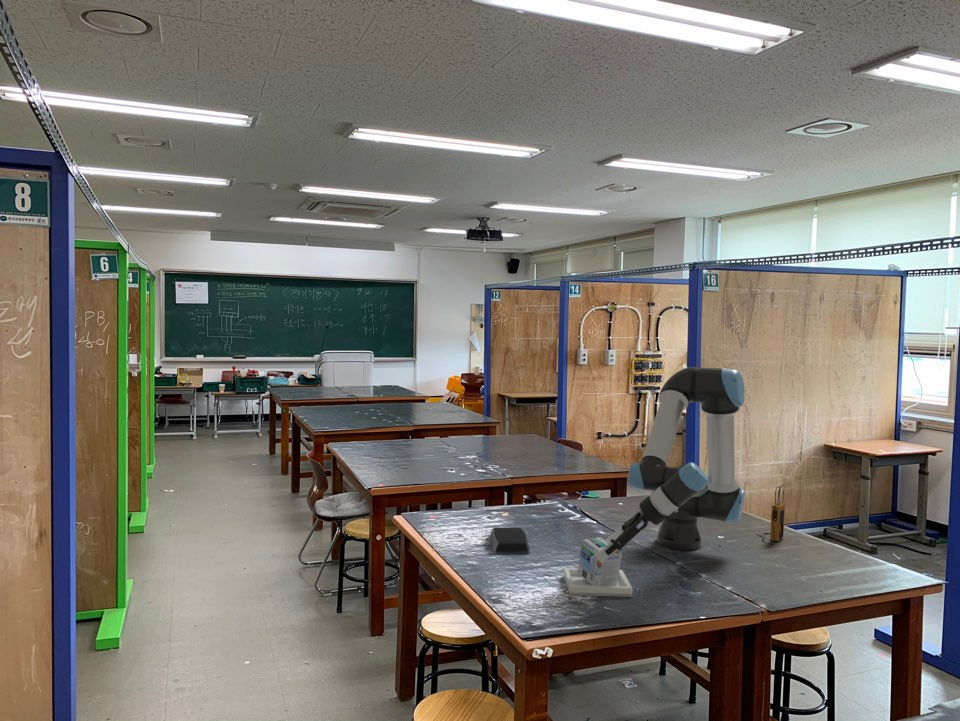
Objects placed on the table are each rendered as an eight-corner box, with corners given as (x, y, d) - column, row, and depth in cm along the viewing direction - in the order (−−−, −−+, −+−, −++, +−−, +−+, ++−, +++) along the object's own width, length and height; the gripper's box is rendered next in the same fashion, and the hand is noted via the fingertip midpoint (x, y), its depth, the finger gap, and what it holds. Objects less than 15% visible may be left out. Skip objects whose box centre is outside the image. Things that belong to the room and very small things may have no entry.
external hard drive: (491, 555, 219) (492, 542, 219) (488, 536, 238) (488, 525, 238) (531, 555, 220) (531, 543, 220) (524, 537, 239) (525, 525, 239)
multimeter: (758, 530, 254) (760, 478, 253) (786, 536, 247) (789, 482, 246) (745, 539, 242) (748, 484, 241) (774, 545, 236) (777, 489, 235)
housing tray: (563, 576, 201) (564, 568, 200) (621, 577, 200) (621, 569, 200) (569, 595, 186) (570, 586, 186) (632, 597, 186) (632, 588, 186)
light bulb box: (576, 572, 196) (582, 538, 194) (594, 569, 200) (600, 536, 198) (598, 591, 187) (604, 555, 185) (617, 588, 190) (623, 553, 188)
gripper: (663, 529, 173) (604, 577, 180) (672, 505, 197) (619, 548, 203) (642, 506, 175) (585, 555, 181) (654, 485, 198) (602, 529, 204)
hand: (603, 551), depth 192 cm, fingers open, 13 cm apart
